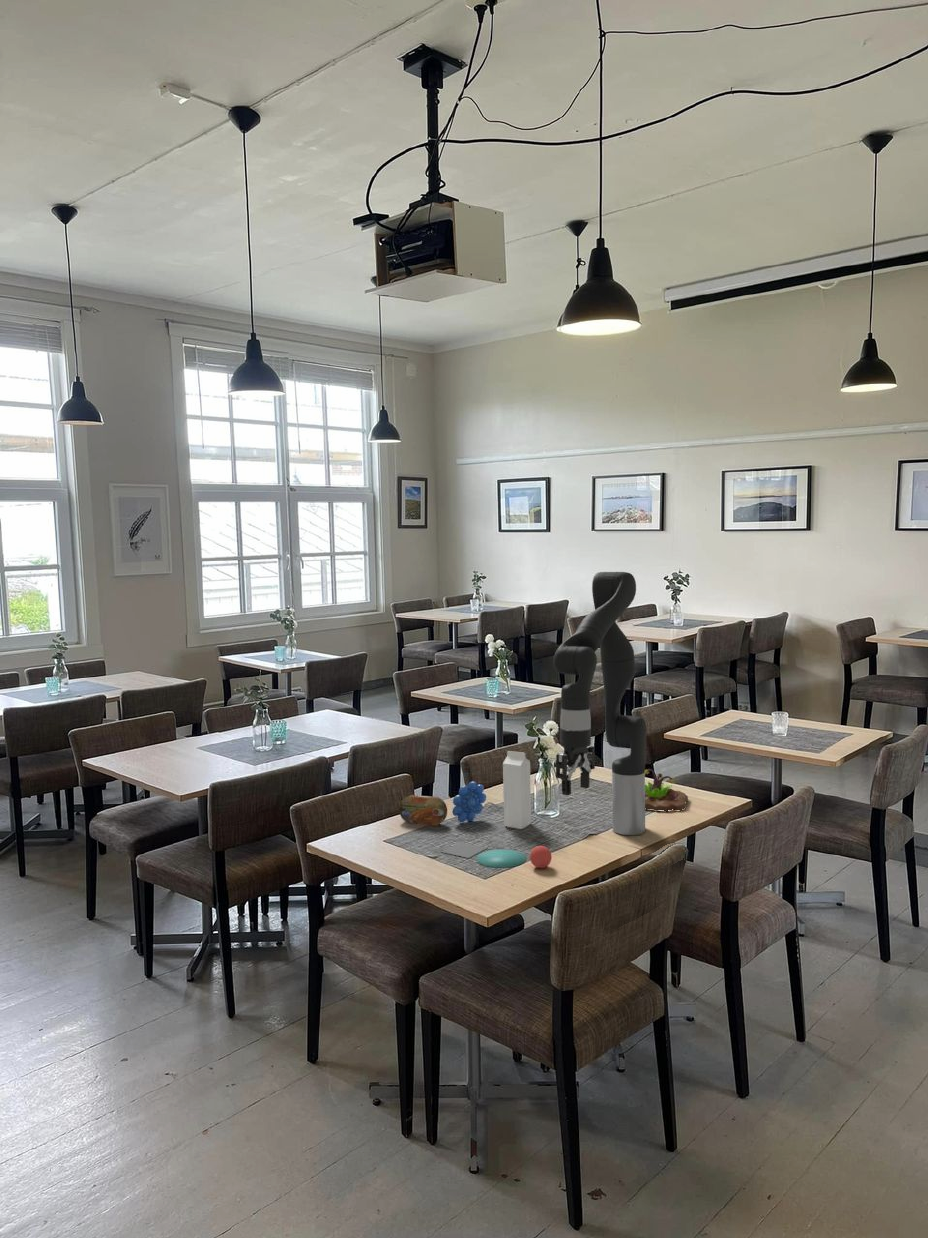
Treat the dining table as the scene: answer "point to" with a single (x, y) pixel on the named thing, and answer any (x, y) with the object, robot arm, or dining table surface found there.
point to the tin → (423, 810)
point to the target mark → (501, 858)
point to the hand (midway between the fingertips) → (575, 791)
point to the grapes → (469, 802)
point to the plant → (663, 795)
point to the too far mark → (464, 850)
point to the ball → (540, 857)
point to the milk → (516, 790)
